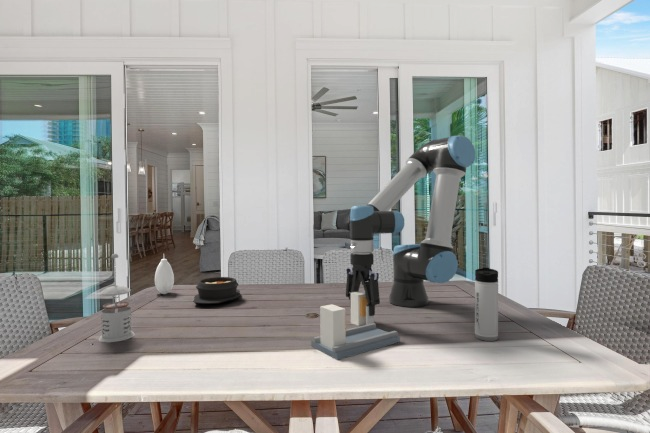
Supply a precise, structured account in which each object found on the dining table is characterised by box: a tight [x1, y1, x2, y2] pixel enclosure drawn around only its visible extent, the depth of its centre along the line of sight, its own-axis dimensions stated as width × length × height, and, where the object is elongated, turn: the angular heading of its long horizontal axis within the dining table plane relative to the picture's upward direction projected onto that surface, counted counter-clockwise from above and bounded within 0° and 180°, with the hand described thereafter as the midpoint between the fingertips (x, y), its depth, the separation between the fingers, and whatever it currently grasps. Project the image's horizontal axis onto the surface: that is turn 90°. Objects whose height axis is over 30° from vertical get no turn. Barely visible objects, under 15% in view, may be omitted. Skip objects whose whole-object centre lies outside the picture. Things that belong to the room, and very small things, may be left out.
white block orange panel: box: [350, 289, 368, 327], centre depth 130 cm, size 6×5×10 cm
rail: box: [310, 304, 401, 361], centre depth 111 cm, size 12×22×12 cm, turn 124°
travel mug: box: [474, 266, 499, 342], centre depth 115 cm, size 6×7×20 cm
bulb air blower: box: [154, 253, 175, 295], centre depth 176 cm, size 8×8×18 cm
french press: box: [98, 253, 136, 343], centre depth 119 cm, size 10×12×25 cm
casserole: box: [192, 276, 242, 305], centre depth 163 cm, size 25×19×8 cm
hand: (362, 322), depth 130 cm, fingers open, 7 cm apart
